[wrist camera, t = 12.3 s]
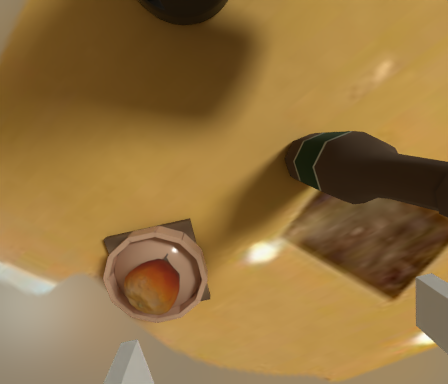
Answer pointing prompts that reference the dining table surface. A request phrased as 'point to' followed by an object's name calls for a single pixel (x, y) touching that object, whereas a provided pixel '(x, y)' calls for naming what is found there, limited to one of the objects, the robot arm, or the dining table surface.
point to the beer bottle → (367, 170)
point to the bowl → (150, 250)
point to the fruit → (153, 286)
